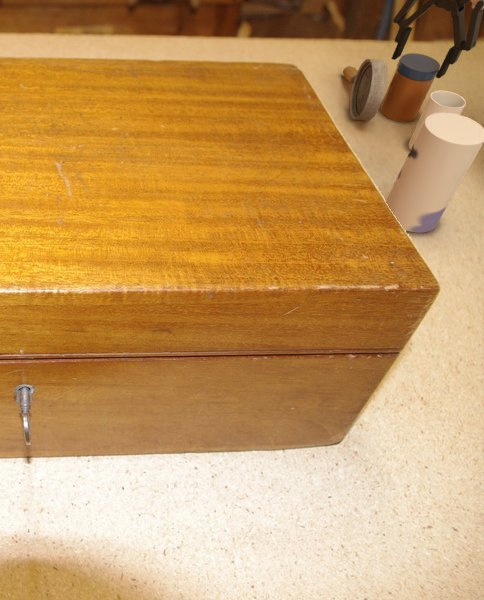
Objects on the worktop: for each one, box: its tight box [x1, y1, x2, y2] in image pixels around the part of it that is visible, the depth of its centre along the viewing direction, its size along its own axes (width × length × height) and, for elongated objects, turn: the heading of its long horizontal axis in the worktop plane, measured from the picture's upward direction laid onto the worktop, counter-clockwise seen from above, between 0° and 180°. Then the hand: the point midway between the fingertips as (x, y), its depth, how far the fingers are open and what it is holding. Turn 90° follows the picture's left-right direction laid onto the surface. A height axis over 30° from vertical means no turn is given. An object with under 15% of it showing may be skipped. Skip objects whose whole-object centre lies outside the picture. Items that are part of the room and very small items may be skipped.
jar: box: [379, 68, 435, 123], centre depth 157 cm, size 8×8×12 cm
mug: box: [408, 89, 467, 151], centre depth 148 cm, size 10×7×12 cm, turn 166°
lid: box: [396, 52, 441, 81], centre depth 153 cm, size 8×8×2 cm
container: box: [385, 113, 484, 233], centre depth 128 cm, size 10×10×20 cm
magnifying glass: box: [342, 58, 388, 122], centre depth 160 cm, size 13×3×25 cm
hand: (417, 66), depth 153 cm, fingers open, 10 cm apart
